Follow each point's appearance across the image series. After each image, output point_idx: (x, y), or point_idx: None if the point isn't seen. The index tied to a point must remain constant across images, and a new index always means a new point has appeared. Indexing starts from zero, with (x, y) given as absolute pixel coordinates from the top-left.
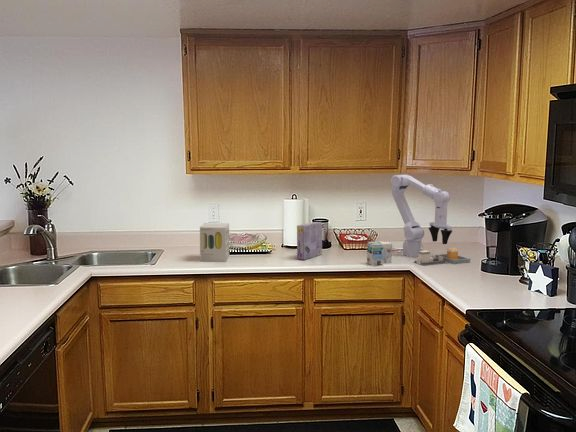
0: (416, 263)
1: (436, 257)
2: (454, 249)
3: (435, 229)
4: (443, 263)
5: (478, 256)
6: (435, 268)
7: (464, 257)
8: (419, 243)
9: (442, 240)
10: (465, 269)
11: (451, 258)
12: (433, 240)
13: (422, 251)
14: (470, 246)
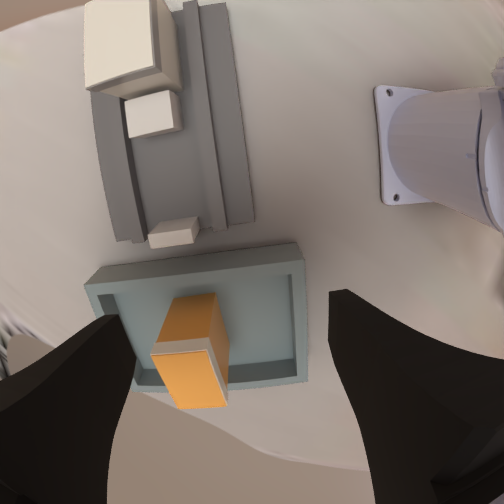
0: (171, 12)
1: (286, 253)
2: (168, 384)
3: (403, 480)
4: (117, 213)
5: (294, 453)
6: (65, 115)
7: None
8: (463, 172)
9: (86, 335)
10: (36, 281)
11: (169, 315)
12: (334, 299)
13: (114, 10)
14: None
